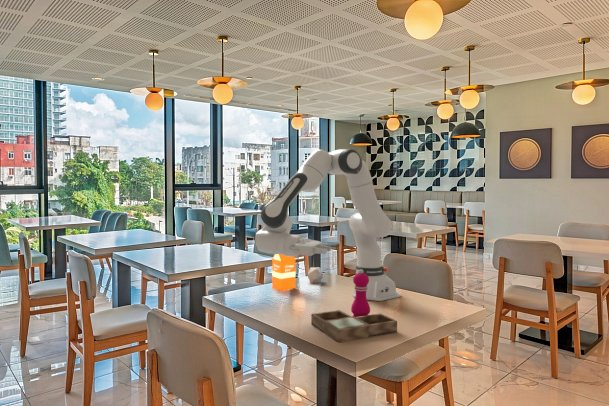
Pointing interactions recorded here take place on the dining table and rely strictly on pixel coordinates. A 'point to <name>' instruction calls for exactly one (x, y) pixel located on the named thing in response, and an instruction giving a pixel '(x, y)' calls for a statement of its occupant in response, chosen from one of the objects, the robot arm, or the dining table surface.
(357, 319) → the box
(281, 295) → the dining table surface
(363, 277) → the pepper mill
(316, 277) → the die
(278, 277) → the orange juice
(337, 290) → the dining table surface
